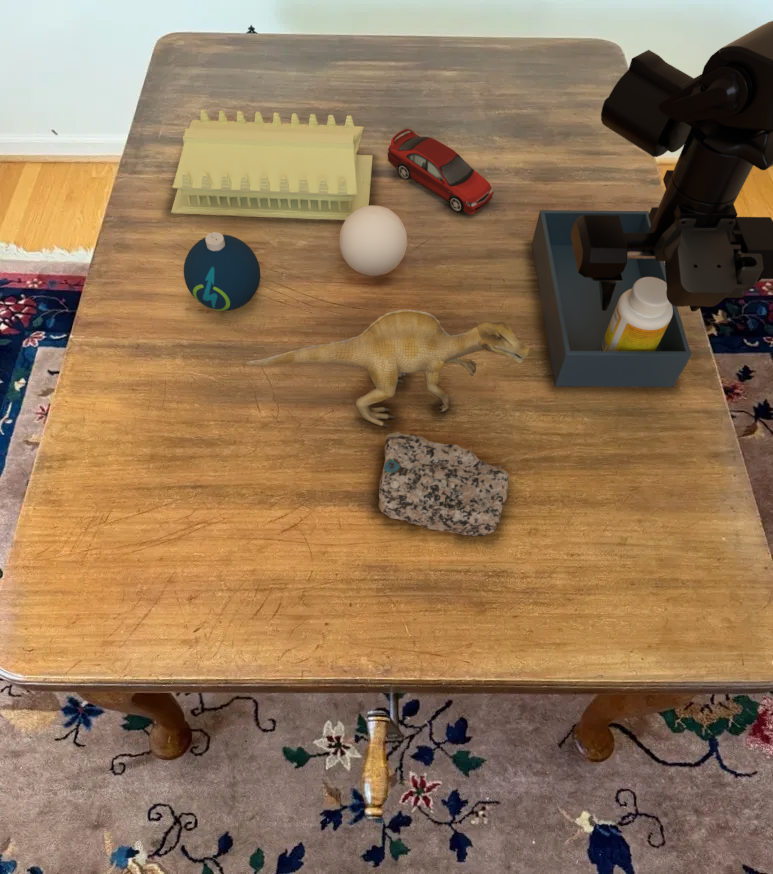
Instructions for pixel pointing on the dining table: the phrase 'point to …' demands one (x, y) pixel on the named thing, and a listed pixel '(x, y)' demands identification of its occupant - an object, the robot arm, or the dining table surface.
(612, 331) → the supplement bottle
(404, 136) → the toy car
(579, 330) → the storage tote
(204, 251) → the christmas ornament
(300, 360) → the dinosaur figurine
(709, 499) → the dining table surface
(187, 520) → the dining table surface
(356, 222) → the ball
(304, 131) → the model building
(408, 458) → the rock
